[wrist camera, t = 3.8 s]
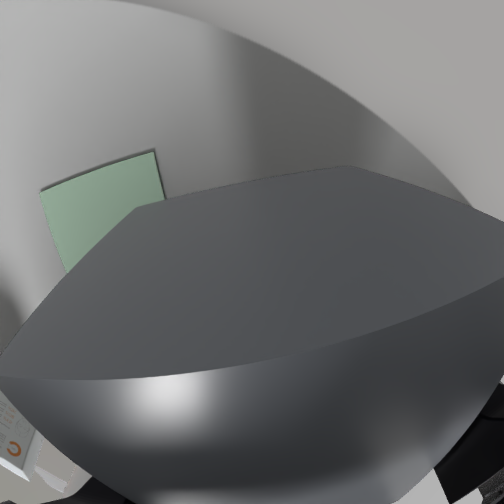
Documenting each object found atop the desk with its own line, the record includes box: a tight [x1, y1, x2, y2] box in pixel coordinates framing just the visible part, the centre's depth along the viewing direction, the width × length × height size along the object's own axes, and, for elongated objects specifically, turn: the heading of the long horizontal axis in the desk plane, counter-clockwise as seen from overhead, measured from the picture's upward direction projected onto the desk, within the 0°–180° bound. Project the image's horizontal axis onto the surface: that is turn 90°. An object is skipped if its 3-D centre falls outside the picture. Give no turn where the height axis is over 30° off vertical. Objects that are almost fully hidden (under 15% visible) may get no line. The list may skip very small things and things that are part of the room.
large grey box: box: [0, 166, 504, 504], centre depth 8 cm, size 8×12×8 cm, turn 10°
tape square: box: [39, 152, 165, 273], centre depth 18 cm, size 10×10×1 cm
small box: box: [0, 390, 44, 482], centre depth 18 cm, size 8×6×13 cm
